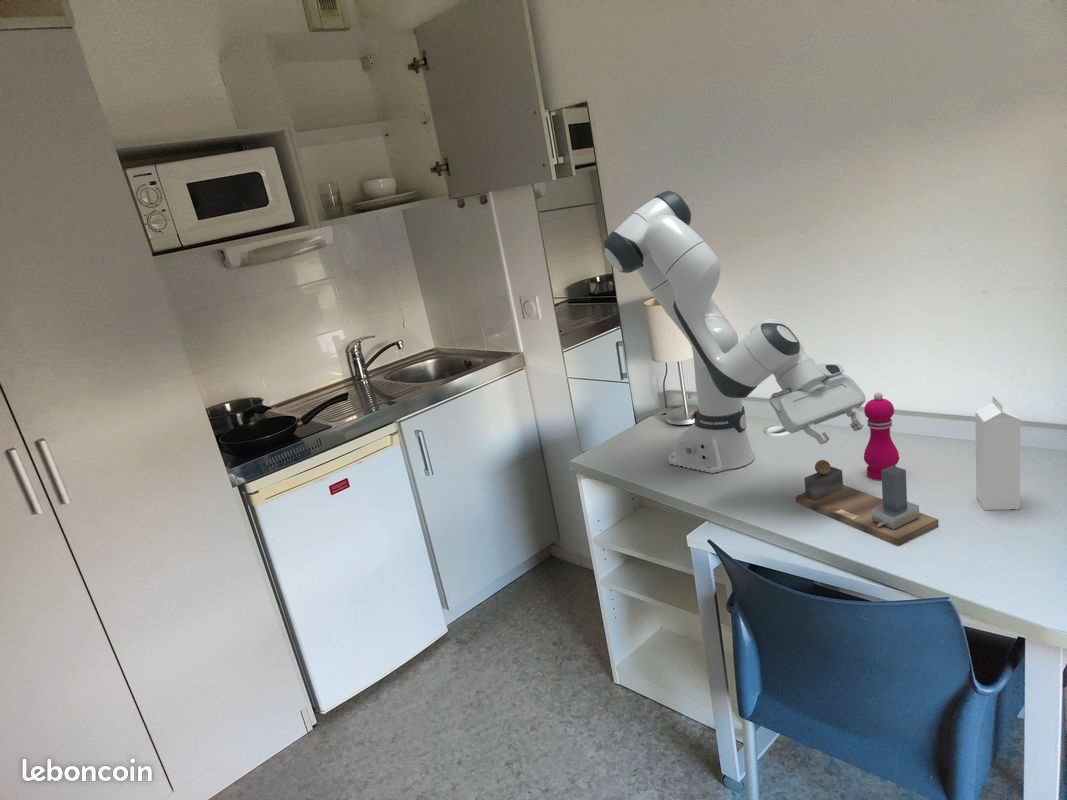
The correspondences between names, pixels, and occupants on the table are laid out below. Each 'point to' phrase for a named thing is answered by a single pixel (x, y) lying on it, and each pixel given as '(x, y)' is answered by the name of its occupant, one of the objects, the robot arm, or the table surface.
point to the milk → (997, 457)
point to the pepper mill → (879, 437)
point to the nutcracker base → (855, 506)
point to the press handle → (894, 500)
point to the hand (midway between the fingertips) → (842, 435)
